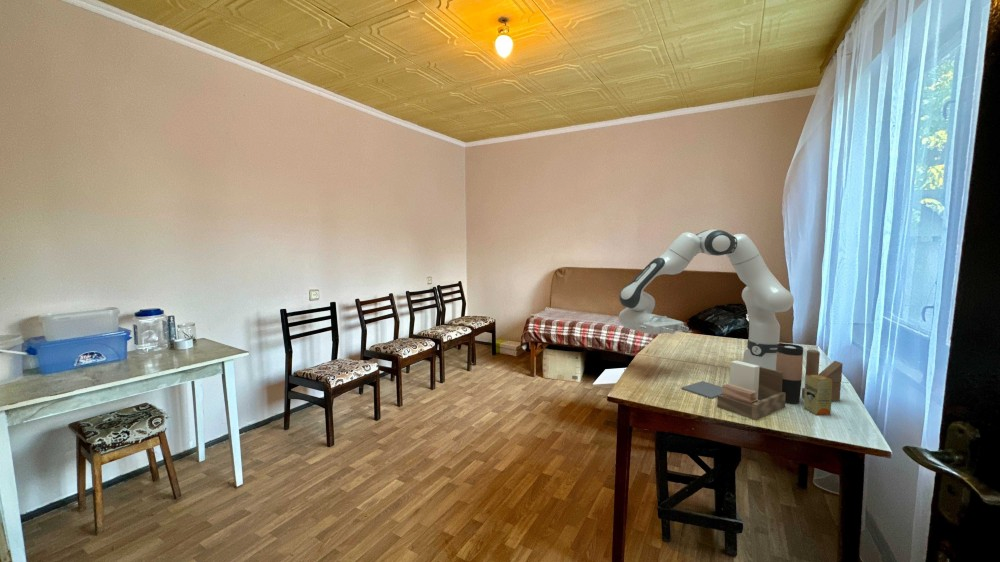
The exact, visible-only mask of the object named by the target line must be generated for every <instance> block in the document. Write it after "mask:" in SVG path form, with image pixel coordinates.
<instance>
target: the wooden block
mask: <svg viewBox="0 0 1000 562" xmlns="http://www.w3.org/2000/svg"><path fill="white" fill-rule="evenodd" d="M820 355H821V353H820V351H819V350H815V349H807V350H806V361H805V362H806V365H805V378H804V381H805V380H806V375H822V376H825V377H827V378H830V379H832V380H833V385H832V399H831V402H832V401H839V402H840V400H841V389H842V386H841V385H842V384H841V383H842V377H843V375H842V374H843V363H842V362H840V361H837V360H834V361H832V362H831V363H830V364H828V366H827V367H825V368H824V369H823V370H822V371H820V370H819V368H820V367H819V366H820ZM819 371H820V372H819ZM804 396H805V387H803V388H802V387H801V397H802V399H804Z"/></svg>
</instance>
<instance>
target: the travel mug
mask: <svg viewBox="0 0 1000 562" xmlns="http://www.w3.org/2000/svg"><path fill="white" fill-rule="evenodd" d="M803 362H804V347H803V346H802V345H797V344H793V343H783V344H778V345H777V359H776V371H780V372H783V381H782V392H784V393H786V398H785V404H789V405H797V404H800V400H801V393H802V380H803V366H804V365H803Z"/></svg>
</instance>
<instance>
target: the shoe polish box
mask: <svg viewBox="0 0 1000 562" xmlns="http://www.w3.org/2000/svg"><path fill="white" fill-rule="evenodd" d="M805 375H806V374H805ZM832 385H833V380H832V379H830V378H827V377H825V376H822V375H806V380H805V379H804V388H805V396H804V398H803V410H804V409H805V411H806V410H807V411H806V412H808V411H809V412H808V413H810V414H813V416H814V415H815V416H827V415H826V414H830V415H831V412H832V411H831V409H832V401H831V399H832Z"/></svg>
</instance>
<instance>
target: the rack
mask: <svg viewBox="0 0 1000 562" xmlns="http://www.w3.org/2000/svg"><path fill="white" fill-rule="evenodd" d="M782 381H783V372H780V371H776V370H772V369H767V368H763V367H760V369H759V388H758V402H755V403H753V404H752V405H750V404H747V403H743V402H740V401H737V400H734V399H731V398H728V397H725V396H723V395H718V396H717V397H716V399H717V401H716V402H717V404H716V407H717V408H720V409H723V410H726V411H728V412H731V413H735V414H738V415H740V416H743V417H746V418H748V419H752V420H753V421H756V420H759V419H761V418H763V417H766V416H769V415H770V414H772V413H775V412H776V411H779V410H782V409H784V408H785V407H786V403H785V398H786V393H784V392H782Z"/></svg>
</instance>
